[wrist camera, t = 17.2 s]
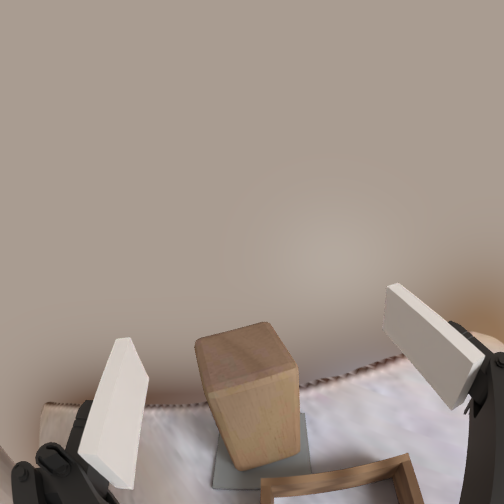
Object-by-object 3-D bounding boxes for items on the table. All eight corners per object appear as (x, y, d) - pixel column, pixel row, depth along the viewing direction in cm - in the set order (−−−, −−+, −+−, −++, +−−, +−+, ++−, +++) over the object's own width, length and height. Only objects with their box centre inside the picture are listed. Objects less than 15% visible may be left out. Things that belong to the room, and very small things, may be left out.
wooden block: (279, 410, 43) (269, 316, 36) (302, 454, 34) (301, 365, 27) (222, 427, 41) (191, 336, 34) (237, 474, 32) (203, 394, 25)
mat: (213, 488, 30) (212, 487, 30) (222, 419, 43) (221, 417, 43) (312, 485, 29) (312, 484, 29) (304, 414, 42) (304, 412, 42)
